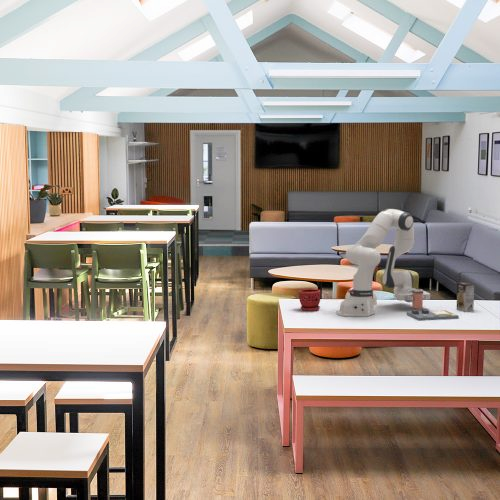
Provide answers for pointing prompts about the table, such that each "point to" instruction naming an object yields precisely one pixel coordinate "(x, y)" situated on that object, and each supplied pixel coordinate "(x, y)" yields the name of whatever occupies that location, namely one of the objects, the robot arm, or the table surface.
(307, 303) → the plant pot
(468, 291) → the coffee box
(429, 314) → the switch board
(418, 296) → the block
